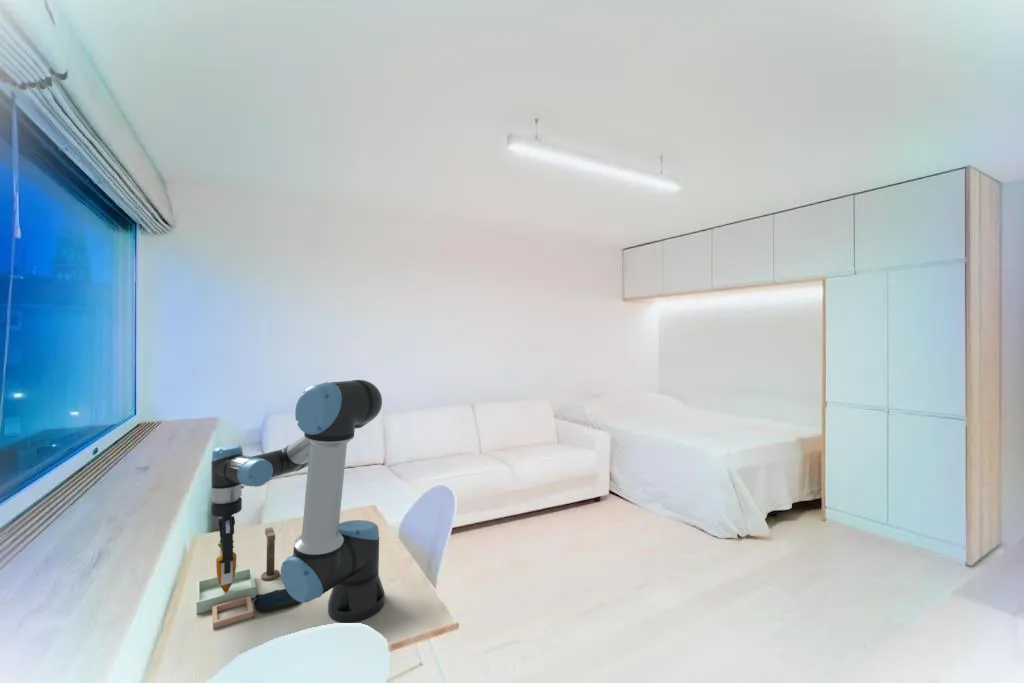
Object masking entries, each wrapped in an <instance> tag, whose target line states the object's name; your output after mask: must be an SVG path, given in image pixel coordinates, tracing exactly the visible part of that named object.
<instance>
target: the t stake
mask: <svg viewBox="0 0 1024 683" xmlns="http://www.w3.org/2000/svg"><path fill="white" fill-rule="evenodd" d="M264 534H265V536H266V537H265V538H266V570H265V571H264V572H263V573H262V574H261V576H260V577H261V580H262V581H265V582H266V581H273V580H275V579H277V578H279V576H280V570H278V569H275V551H276V550H275V548H276V547H275V546H276V545H275V543H276V542H275V541H276V533H275V531H274V528H273V526H271V527H266V528H264Z"/></svg>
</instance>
